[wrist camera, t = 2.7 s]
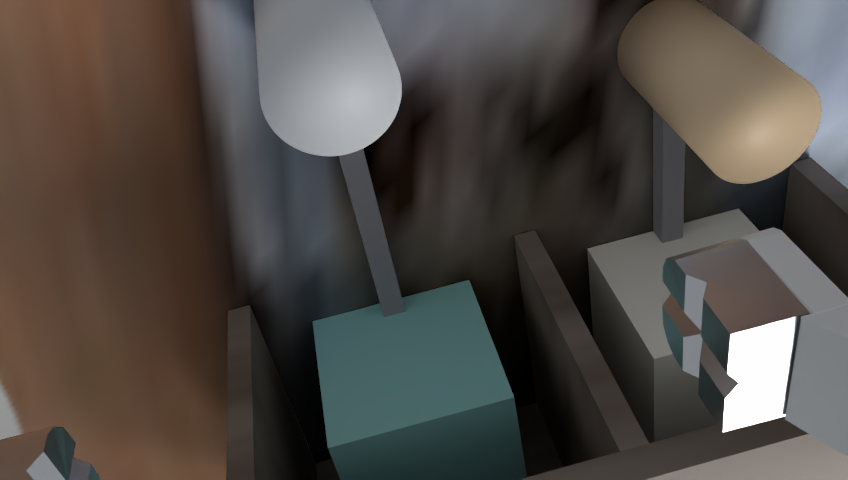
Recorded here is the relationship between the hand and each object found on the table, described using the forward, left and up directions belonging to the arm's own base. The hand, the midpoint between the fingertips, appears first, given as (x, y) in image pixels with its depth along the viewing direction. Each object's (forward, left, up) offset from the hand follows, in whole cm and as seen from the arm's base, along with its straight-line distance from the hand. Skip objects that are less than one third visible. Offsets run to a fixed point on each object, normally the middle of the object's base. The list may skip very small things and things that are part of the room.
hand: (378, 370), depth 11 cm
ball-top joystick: (-8, 0, -15) cm, 17 cm away
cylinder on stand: (-10, -11, -15) cm, 21 cm away
